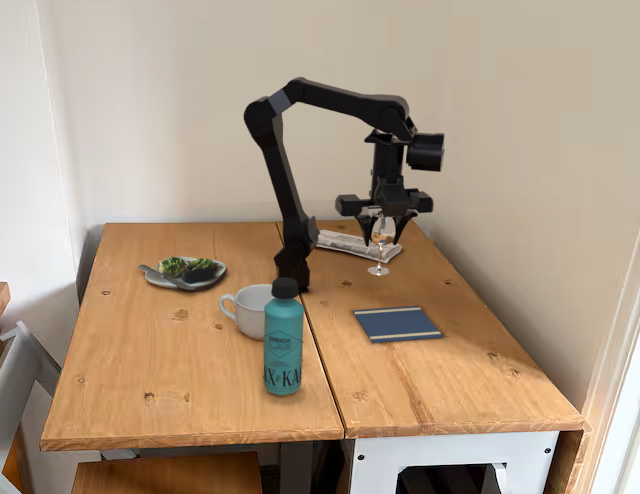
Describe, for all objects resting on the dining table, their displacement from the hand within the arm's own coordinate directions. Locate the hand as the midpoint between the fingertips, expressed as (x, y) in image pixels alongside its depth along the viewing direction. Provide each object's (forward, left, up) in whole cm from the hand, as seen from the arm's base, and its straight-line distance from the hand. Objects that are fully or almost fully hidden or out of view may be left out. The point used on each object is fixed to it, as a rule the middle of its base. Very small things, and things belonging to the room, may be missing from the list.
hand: (380, 245), depth 146 cm
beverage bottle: (-27, -35, -12) cm, 45 cm away
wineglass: (0, 0, -6) cm, 6 cm away
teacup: (-28, -12, -12) cm, 32 cm away
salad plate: (-39, +17, -12) cm, 44 cm away
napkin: (0, -13, -12) cm, 17 cm away
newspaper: (+3, +30, -12) cm, 33 cm away
